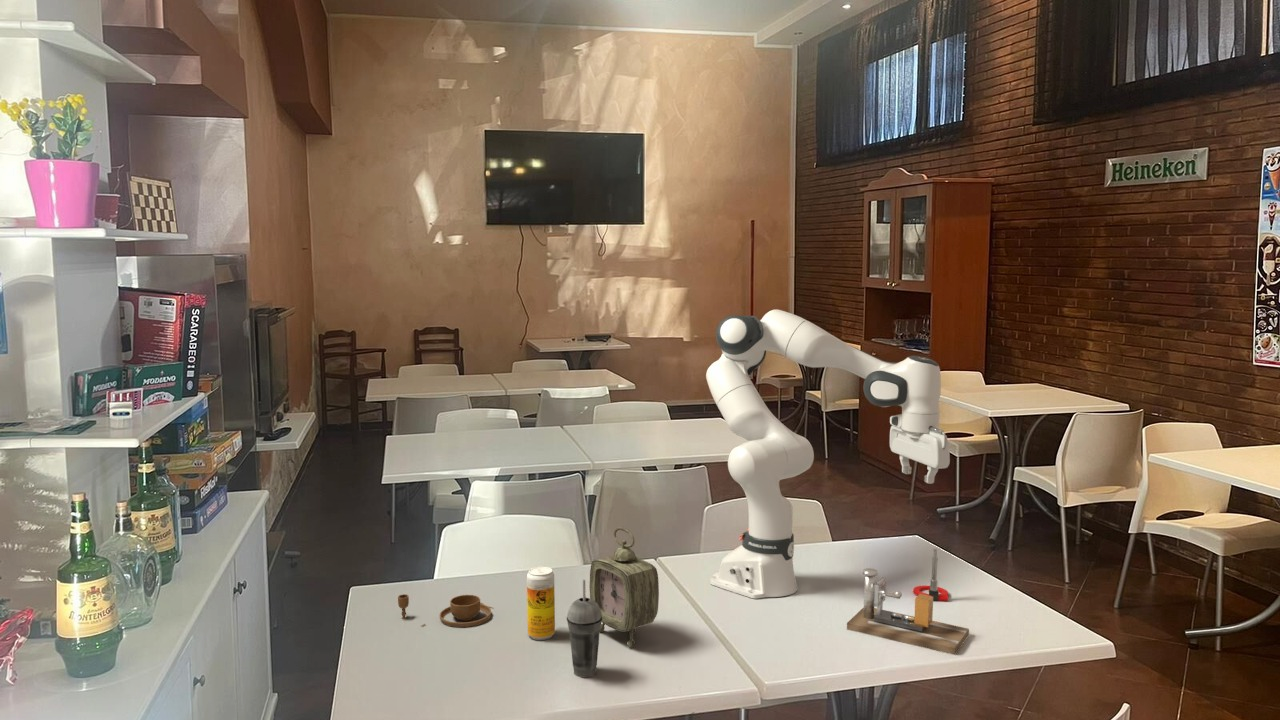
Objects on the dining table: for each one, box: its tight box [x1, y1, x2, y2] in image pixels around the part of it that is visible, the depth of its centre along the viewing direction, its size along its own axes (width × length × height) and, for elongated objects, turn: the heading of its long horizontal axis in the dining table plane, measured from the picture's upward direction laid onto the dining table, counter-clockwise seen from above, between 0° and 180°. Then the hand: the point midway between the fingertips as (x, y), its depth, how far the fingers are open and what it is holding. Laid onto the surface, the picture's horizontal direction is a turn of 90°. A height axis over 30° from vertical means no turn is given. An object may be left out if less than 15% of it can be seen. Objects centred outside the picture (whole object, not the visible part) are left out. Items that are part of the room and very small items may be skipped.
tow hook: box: [912, 548, 949, 602], centre depth 226 cm, size 8×13×9 cm
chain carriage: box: [874, 577, 934, 632], centre depth 203 cm, size 12×5×9 cm, turn 57°
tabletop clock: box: [589, 526, 660, 648], centre depth 200 cm, size 14×9×25 cm, turn 40°
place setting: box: [397, 594, 495, 628], centre depth 213 cm, size 18×20×6 cm
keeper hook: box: [862, 567, 903, 619], centre depth 206 cm, size 9×3×11 cm, turn 56°
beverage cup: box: [566, 579, 602, 678], centre depth 183 cm, size 7×7×20 cm
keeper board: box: [846, 606, 970, 655], centre depth 203 cm, size 24×12×2 cm, turn 57°
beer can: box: [526, 566, 556, 641], centre depth 201 cm, size 6×6×15 cm
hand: (917, 478), depth 221 cm, fingers open, 8 cm apart
